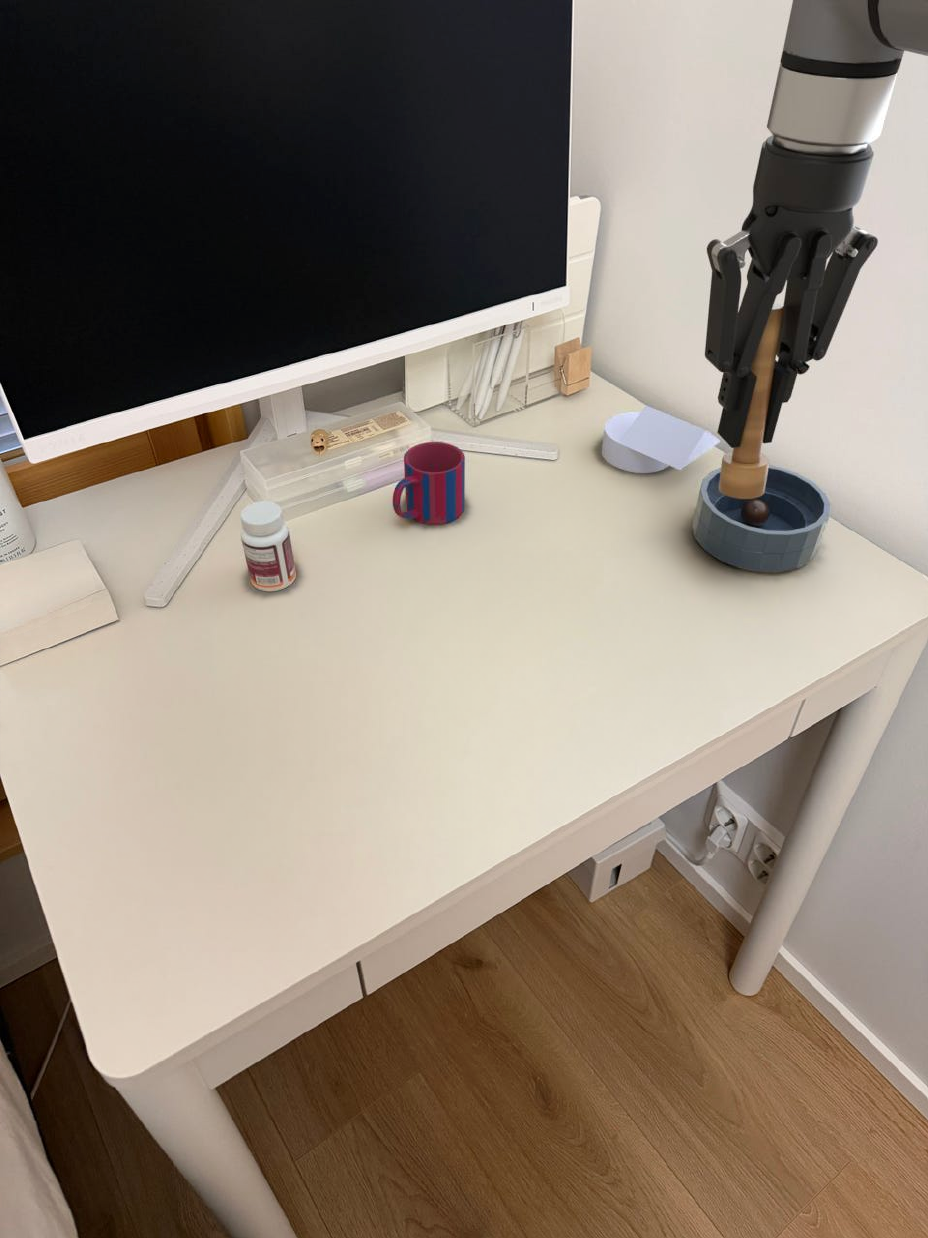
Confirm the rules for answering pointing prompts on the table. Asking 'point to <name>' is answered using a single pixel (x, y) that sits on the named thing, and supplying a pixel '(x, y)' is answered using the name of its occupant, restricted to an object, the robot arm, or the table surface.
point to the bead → (755, 512)
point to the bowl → (777, 541)
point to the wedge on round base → (653, 441)
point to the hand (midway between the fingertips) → (744, 436)
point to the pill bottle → (267, 546)
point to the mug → (432, 483)
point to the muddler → (754, 423)
